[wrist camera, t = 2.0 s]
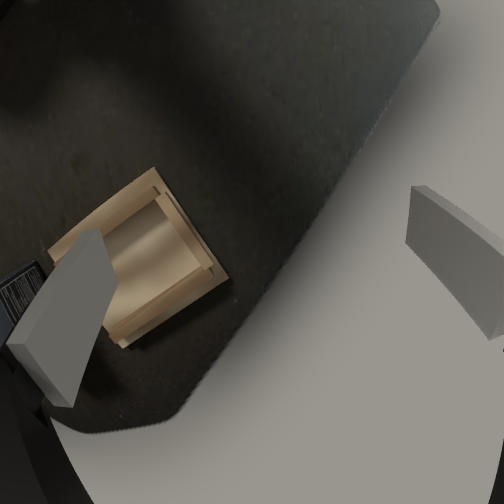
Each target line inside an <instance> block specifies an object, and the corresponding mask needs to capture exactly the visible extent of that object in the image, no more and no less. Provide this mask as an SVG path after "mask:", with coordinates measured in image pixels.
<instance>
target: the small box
mask: <svg viewBox="0 0 504 504" xmlns="http://www.w3.org/2000/svg"><path fill="white" fill-rule="evenodd" d="M44 283H45V280H44V278H43V275H42V273H41V271H40V269H39V267H38V264H37V262H36V261H35V260H31V261H30V262H29V263H28V264H25V265H23V266H21V267H20V268H18V269H16V270H14V271H12V272H10V273H9V274H7V275H6V276H4V277H3V278H1V279H0V348H1V346H2V344H3V343H4V341H5V339H6V338H7V336H8V334H9V333H10V331H11V329H12V328H13V326H14V325H16V321H17V320H18V318H19V317H21V313H22V312H23V310H24V309H25V307H26V306H27V304H28V303H30V302H31V301H32V300H33V299H34V298H35V296H36V295H37V293H38V292H39V290H40V289H41V287H42V286H43V284H44Z"/></svg>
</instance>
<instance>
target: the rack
mask: <svg viewBox="0 0 504 504" xmlns="http://www.w3.org/2000/svg"><path fill="white" fill-rule="evenodd" d="M96 228H99V229H100V232H101V235H102V238H103V241H104V244H105V247H106V249H107V252H108V255H109V258H110V261H111V263H112V266H113V269H114V271H115V274H116V277H117V279H118V282H119V284H118V286H117V289H116V291H115V293H114V296H113V298H112V300H111V303H110V305H109V308H108V310H107V313H106V315H105V318H104V320H103V323H102V325H103V326H104V327H105V329H106V330H107V331H108V332H109V333H110V334H109V337H110V338H111V339H112V340H113V341H114V343H115V344H116V343H118V344H119V345H120V346H121V347H122V348H124V347H126V346H128V345H129V344H131V343H132V342H134V341H135V340H137V339H138V338H140V337H141V336H143V335H144V334H146V333H147V332H149V331H150V330H152V329H153V328H155V327H156V326H158V325H159V324H161V323H162V322H164V321H165V320H167V319H168V318H170V317H171V316H173V315H174V314H176V313H177V312H179V311H180V310H182V309H183V308H185V307H186V306H188V305H189V304H191V303H192V302H194V301H195V300H197V299H198V298H200V297H201V296H203V295H204V294H206V293H207V292H209V291H210V290H212V289H213V288H215V287H216V286H218V285H219V284H221V283H222V282H224V281H225V280H227V279H228V278H229V277H228V275H227V274H226V272H225V271H224V269H223V268H222V266H221V265H220V264H219V262H218V261H217V259H216V258H215V256H214V255H213V253H212V252H211V251H210V249H209V248H208V246H207V245H206V243H205V242H204V240H203V239H202V237H201V236H200V234H199V233H198V232H197V230H196V229H195V227H194V226H193V224H192V223H191V221H190V220H189V218H188V217H187V215H186V214H185V212H184V211H183V209H182V208H181V206H180V205H179V203H178V202H177V200H176V199H175V197H174V196H173V194H172V193H171V191H170V190H169V188H168V187H167V185H166V184H165V182H164V181H163V179H162V178H161V176H160V175H159V173H158V172H157V170H156V169H155V167H153V168H151V169H150V170H148V171H147V172H146V173H144V174H143V175H141V176H140V177H139V178H137V179H136V180H134V181H133V182H132V183H130V184H129V185H127V186H126V187H125V188H123V189H122V190H121V191H119V192H118V193H117V194H115V195H114V196H113V197H111V198H110V199H109V200H108V201H106V202H105V203H104V204H102V205H101V206H100V207H99V208H97V209H96V210H95V211H94V212H92V213H91V214H90V215H89V216H87V217H86V218H85V219H84V220H83V221H81V222H80V223H79V224H78V225H76V226H75V227H74V228H73V229H72V230H71V231H69V232H68V233H67V234H66V235H65V236H64V237H62V238H61V239H60V240H59V241H58V242H57V243H56V244H54V245H53V246H52V247H51V248H50V249H49V250H48V252H49V254H50V255H51V257H52V258H53V260H54V261H55V263H54V266H55V267H56V266H57V265H58V263H59V262H60V261H61V259H62V258H63V257H64V255H65V254H66V253H67V252H68V250H69V249H70V248H71V246H72V245H73V244H74V243H75V241H76V240H77V239H78V237H79V236H80V235H81V234H82V233H83V231H85V230H90V229H96Z"/></svg>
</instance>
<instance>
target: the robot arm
mask: <svg viewBox="0 0 504 504" xmlns="http://www.w3.org/2000/svg"><path fill="white" fill-rule="evenodd" d="M12 2H13V0H0V18H1V17H2V16H3V15H4V13H5V12H6V11H7V9H8V8H9V7H10V5H11V4H12ZM405 243H406V244H407V245H408V246H409V247H410V248H411V249H412V250H413V251H414V252H415V253H416V255H417V256H418V257H419V258H420V259H421V260H422V261H423V262H424V263H425V264H426V265H427V266H428V268H430V270H431V271H432V272H433V273H434V274H435V275H436V276H437V278H438V279H439V280H440V281H441V282H442V283H443V284H444V286H445V287H446V288H447V289H448V290H449V291H450V292H451V294H452V295H453V296H454V297H455V298H456V300H457V301H458V302H459V303H460V304H461V306H462V307H463V308H464V309H465V310H466V312H467V313H468V314H469V315H470V317H471V318H472V319H473V320H474V322H475V323H476V324H477V325H478V327H479V328H480V329H481V330H482V332H483V333H484V334H485V336H486V337H487V338H488V340H489V341H490V340H492V339H494V338H496V337H499V336H501V335H503V334H504V241H503V240H502V239H500V238H499V237H498V236H496V235H495V234H494V233H492V232H491V231H490V230H488V229H487V228H486V227H485V226H483V225H482V224H481V223H479V222H478V221H476V220H475V219H474V218H473V217H471V216H470V215H468V214H467V213H466V212H464V211H463V210H461V209H460V208H458V207H457V206H455V205H454V204H453V203H451V202H450V201H448V200H447V199H445V198H444V197H442V196H440V195H439V194H438V193H436V192H435V191H433V190H431V189H430V188H428V187H427V186H412V187H411V198H410V208H409V218H408V226H407V235H406V242H405ZM118 284H119V282H118V279H117V277H116V274H115V271H114V269H113V266H112V263H111V261H110V258H109V255H108V252H107V249H106V247H105V244H104V241H103V238H102V235H101V232H100V229H99V228H96V229H90V230H85V231H83V233H82V234H81V235H80V236H79V237H78V239H77V240H76V241H75V243H74V244H73V245H72V246H71V248H70V249H69V250H68V252H67V253H66V254H65V255H64V257H63V258H62V259H61V261H60V262H59V263H58V265H57V266H56V268H55V269H54V270H53V272H52V273H51V274H50V276H49V277H48V279H47V280H46V281H45V283H44V284H43V286H42V287H41V289H40V290H39V292H38V293H37V295H36V296H35V298H34V299H33V300H32V301H31V302H30V303H28V304H27V306H26V307H25V309H24V310H23V312H22V313H21V317H19V318H18V320H17V321H16V325H14V326H13V328H12V329H11V331H10V333H9V334H8V336H7V338H6V339H5V341H4V343H3V344H2V346H1V348H0V504H94V503H93V501H92V500H91V498H90V497H89V495H88V493H87V491H86V490H85V488H84V486H83V484H82V483H81V481H80V479H79V477H78V476H77V474H76V472H75V470H74V468H73V466H72V464H71V462H70V460H69V458H68V456H67V454H66V452H65V450H64V448H63V446H62V444H61V442H60V440H59V437H58V435H57V433H56V431H55V428H54V426H53V424H52V421H51V419H50V416H49V414H48V411H47V409H46V408H45V407H44V405H43V404H42V403H41V402H42V399H43V397H44V395H45V396H46V397H47V398H48V399H49V400H50V402H51V403H52V404H53V405H54V406H61V407H72V408H73V405H74V402H75V398H76V395H77V392H78V389H79V386H80V383H81V380H82V377H83V374H84V371H85V368H86V365H87V362H88V360H89V357H90V354H91V351H92V349H93V346H94V343H95V341H96V338H97V335H98V333H99V330H100V328H101V325H102V323H103V320H104V318H105V315H106V313H107V310H108V308H109V305H110V303H111V300H112V298H113V296H114V293H115V291H116V289H117V286H118ZM503 352H504V350H503ZM488 504H504V441H503V446H502V452H501V457H500V461H499V466H498V470H497V474H496V478H495V482H494V486H493V490H492V493H491V496H490V500H489V503H488Z"/></svg>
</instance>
